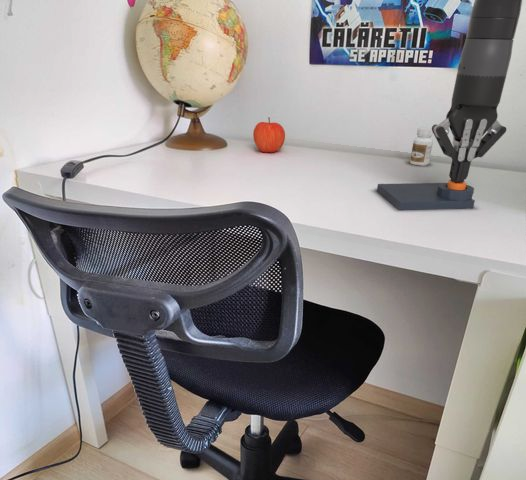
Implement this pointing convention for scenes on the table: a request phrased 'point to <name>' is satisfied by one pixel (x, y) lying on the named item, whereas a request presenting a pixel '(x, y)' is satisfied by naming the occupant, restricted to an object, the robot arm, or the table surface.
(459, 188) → the button
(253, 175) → the table surface
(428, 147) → the pill bottle
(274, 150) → the apple
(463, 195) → the grey button base
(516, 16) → the robot arm
